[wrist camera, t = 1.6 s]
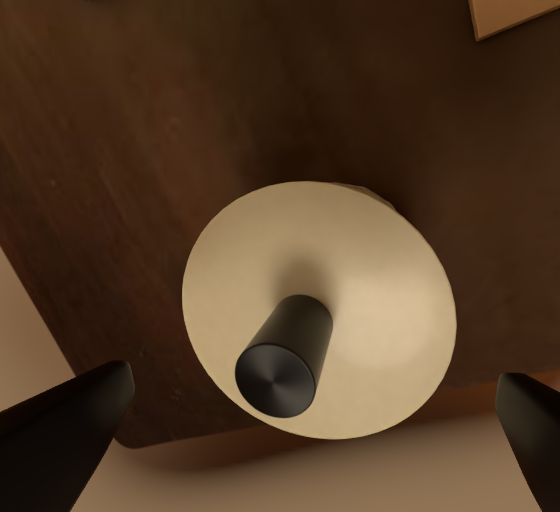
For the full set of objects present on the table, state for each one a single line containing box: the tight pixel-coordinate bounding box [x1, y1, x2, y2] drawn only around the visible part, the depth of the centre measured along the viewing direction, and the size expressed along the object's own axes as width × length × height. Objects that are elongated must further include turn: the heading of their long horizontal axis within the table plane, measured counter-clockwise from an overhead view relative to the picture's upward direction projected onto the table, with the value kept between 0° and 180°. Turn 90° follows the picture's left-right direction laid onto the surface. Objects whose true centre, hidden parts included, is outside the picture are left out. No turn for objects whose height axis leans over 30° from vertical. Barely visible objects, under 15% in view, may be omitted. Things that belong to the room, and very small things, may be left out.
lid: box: [182, 181, 457, 439], centre depth 11 cm, size 11×11×5 cm
